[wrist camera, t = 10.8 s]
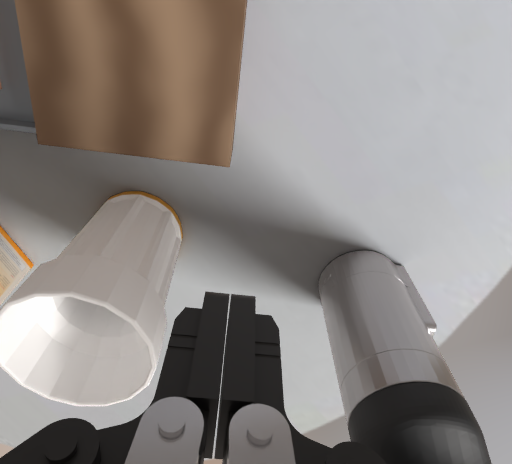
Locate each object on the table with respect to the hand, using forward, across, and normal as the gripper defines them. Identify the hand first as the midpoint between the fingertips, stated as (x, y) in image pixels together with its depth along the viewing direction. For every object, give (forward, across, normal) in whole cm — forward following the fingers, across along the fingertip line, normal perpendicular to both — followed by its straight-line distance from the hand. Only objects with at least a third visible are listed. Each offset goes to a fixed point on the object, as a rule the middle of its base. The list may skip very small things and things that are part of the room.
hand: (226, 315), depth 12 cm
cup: (+27, +10, +14) cm, 32 cm away
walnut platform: (+27, +9, -4) cm, 29 cm away
